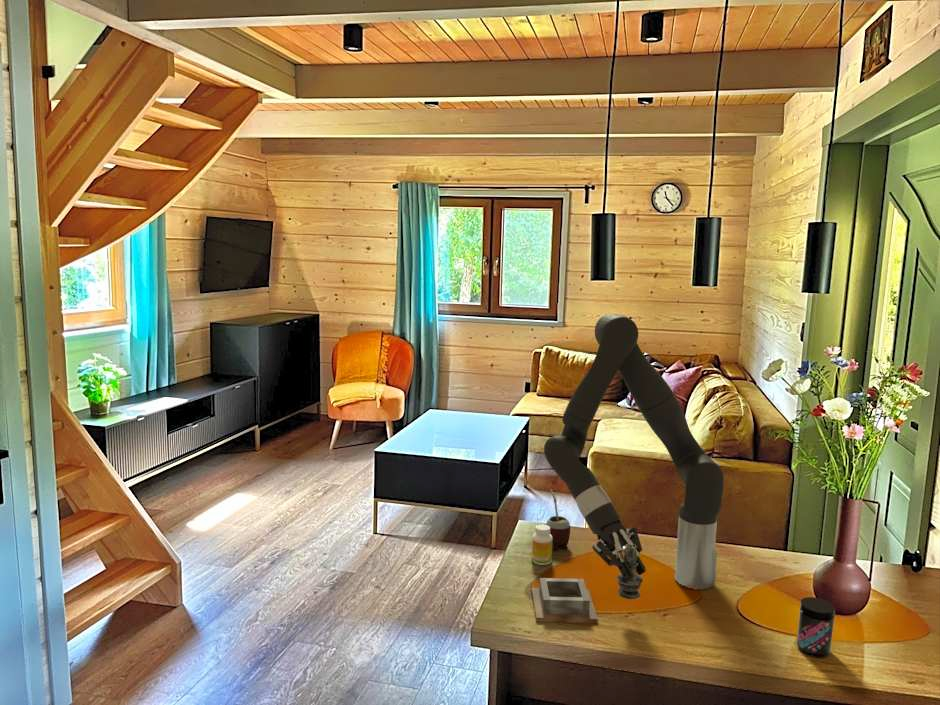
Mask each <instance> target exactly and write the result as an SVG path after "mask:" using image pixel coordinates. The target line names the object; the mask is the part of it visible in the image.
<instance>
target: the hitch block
mask: <svg viewBox="0 0 940 705" xmlns="http://www.w3.org/2000/svg"><path fill="white" fill-rule="evenodd" d="M531 595H532V596H531V597H532V604H533V609H534V610H533V611H534V616H535V622H536V623H537V622H538V623H579V624H580V623H583V624H598V623H599V622H598V621H599V618H598V615H597V611H596V609H595V605H594V603H593V600H592V597H591V593H590V590H589V588H587V586H586V584H585V580H584V578H560V577H559V578H557V577H555V578H549V577H540V578H539V587H531Z"/></svg>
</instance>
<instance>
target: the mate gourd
mask: <svg viewBox="0 0 940 705" xmlns="http://www.w3.org/2000/svg"><path fill="white" fill-rule="evenodd" d="M549 490H550V492H551V495H552V498H553V503H554V510H555V515H553V516H551V517H549V518H548V519H547V521H546V523H545V525H548V526H549V527H550V534H551V535H552V539H553V540H552V551H556V550H557V549H558V548H560V549H564V550H568V549H569V548H568V547H569V546H568V544H569V542H570V535H571V523H570V521H569V520H568V519H567V518H566V517H564V516H561V515H559V512H558V504H557V498H556V495H555V493H554V492H553V489H552V488H550V489H549Z"/></svg>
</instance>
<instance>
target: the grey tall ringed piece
mask: <svg viewBox="0 0 940 705" xmlns="http://www.w3.org/2000/svg"><path fill="white" fill-rule="evenodd" d="M629 546H630V547H628V548H626V549H625V550H624V553H623V557H624V560H625V561H624V562H627V564H628V566H629V567H630V569H631V571H632V573H633V574H634V578H632V579H631V580H629V581H627V580H626V579H625V578H624V577H623V575H622V574H621V573H619V574H617V576H616V577H615V578H616V580H617V584H618V587H619V588H618V589H617V591H616V592H617V595H618V596H619V597H621V598H623V599H627V600H635V599H636V600H637V599H639V597H641V594H642V593H641V591H640V590H639V589H640V587H641V585H642V583H643V577H642V576H641V575H638V573H637V572H636V568H637V566H638V563H637V562H636V560H637V551H636V549H634V548H632V545H631V544H630V545H629Z"/></svg>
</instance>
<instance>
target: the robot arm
mask: <svg viewBox="0 0 940 705" xmlns="http://www.w3.org/2000/svg"><path fill="white" fill-rule="evenodd" d="M594 337H595V340H596V342H597V344H598V345H599V346H598V349H597V352H596V356H595V358H594V360H593V361H592V364H591V366H590V368H588V371H587V373H586V374H585V375H584V376H583V378H581V381H580V382H579V384H577V387H576V388H575V390H574V391H573V393H572V396H571V397H570V399H569V402H568V404H567V405H566V408H565V410H564V412H563V414H562V418H561V421H562V424H564V425H563V429H562V432H561V435H553V436H551V437H549V438H548V439H547V440H546V441H545V443H544V447H543V453H544V457H545V459H546V461H547V463H548V464H549V466H550V467H551V469H553V471H554V472H555V473H556V474H557V476H558V477H559V478H560V479H561V480H562V482H564V483H565V485H566V487H567V489H568V490H569V492H570V494H571V496H572V498H573V499H574V501H575V503H576V506H577V509H578V510H579V511H580V513H581V515H582V517H583V518H584V520H585V522H586V523H587V526H588V527H589V529H590V530H591V531H590V532H592V534H593V535H596V537H597V540H598V541H597V542H596V543H595V544H594V545H592V548H591V549H592V550H593V551H594V552H595V553H596V554H597V555H598V556H599V557H600V558H601V560H603V562H605V564H606V565H608V566H609V567H612V566H615V567H617V568H618V571H619V572H620V574H622V575H623V577H624V578H625V579H626V580H627V581H629V580H631V579H632V578H634V574H633V573H632V571H631V569H630V567H629V566H628V564H627V562H624V561H625V560H624V550H625V549H626V548H628V547H630V546H629V545H630V544H631V545H632V548H634V549H636V551H637V560H636V562H637V563H638V566H637V568H636V572H637V575H639V576H641V575H643V574H644V573H646V572H647V570H646V566H645V565H644V563H643V561H642V559H641V558H640V556H639V555H640V553H641V552H642V551H643V546H642V543H641V541H640V537H639V534H638V531H637V529H636V527H631V528H627V527H625V525H624V524H623V523H622V522H621V521H622V517H621V515H620V514H619V512H618V511H617V510H618V509H617V508H616V506H615V505H614V504H613V502H612V500H611V498H610V497H609V496H608V493H607V492H606V491H605V490H604V488H603V487H602V486H601V483H599V481H598V480H597V478H596V476H595V474H594V473H593V472H592V470H591V469H590V468H589V467H588V466H586V465H584V464H583V463H582V461H580V457H581V456H582V454H583V451H584V449H585V445H586V441H587V438H588V432H589V428H590V426H591V424H592V423H593V420H594V418H595V416H596V414H597V413H598V412H597V411H598V409H599V408H600V405H601V403H602V400H603V399H604V396H605V394H606V393H607V391H608V389H609V387H610V384H611V383H612V381H613V380H614V378H615V377H616V374H617V373H618V372H619V374H620V376H621V377H622V379H623V381H624V383H625V386H626V388H627V390H628V391H629V393H630V395H631V397H632V399H633V401H634V402H635V404H636V406H637V408H638V410H639V411H640V413H641V414H642V416H643V418H644V419H645V421H646V423H647V424H648V426H649V427H650V429H651V430H652V431H653V432H654V434H655V435H656V437H657V438H658V439H659V440H660V441H661V443H662V444H663V445H664V447H665V448H666V450H667V451H668V454H669V456H670V458H671V461H672V463H673V464H674V466H675V470H676V471H677V473H678V476H679V477H680V480H681V481H682V482H683V484H684V485H685V493H684V500H683V502H682V503H681V504H680V506H679V512H678V525H677V526H678V527H677V536H676V538H677V542H676V550H675V552H676V554H675V565H674V566H675V569H674V581H675V580H676V581H677V582H678V583H679V584H678V583H677V582H676V581H675V582H676V583H677V584H678V585H680V584H681V585H680V586H682V585H684V586H687V587H691V588H696V589H695V590H698V589H699V590H706V589H709V588H715V587H716V577H717V575H716V574H717V563H718V550H717V549H716V538H717V526H718V524H717V523H718V516H719V514H720V512H721V509H722V502H723V493H724V486H725V485H724V484H725V481H724V480H725V476H724V472H723V469H722V468H721V466H720V465H719V464H718V463H716V462H715V461H714V460H713V458H711V457H710V456H709V455H708V454H707V453H706V451H704V449H703V448H702V446H701V445H700V444H699V443H698V441H697V440H696V439H695V437H694V436H693V434H692V432H691V430H690V427H689V425H688V421H687V418H686V415H685V413H684V409H683V407H682V406H681V403H680V402H679V399H678V398H677V396H676V395H675V392H673V390H672V388H671V387H670V385H669V384H668V383H667V381H666V380H665V378H664V377H663V376H662V375H661V374H660V372H659V371H658V370H657V368H655V367H654V366H653V365H652V364H651V363H650V362H649V360H648V359H647V357H646V356H645V355H644V353H643V351H642V350H641V348H640V347H639V344H638V339H639V328H638V326H637V325H636V323H635V322H634V320H633V319H631V318H629V317H627V316H624V315H621V314H618V313H608V314H604V315H602V316H601V317H600V318H599V319H598V320H597V321H596V324H595V326H594ZM684 586H683V587H684ZM687 587H686V588H687Z"/></svg>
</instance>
